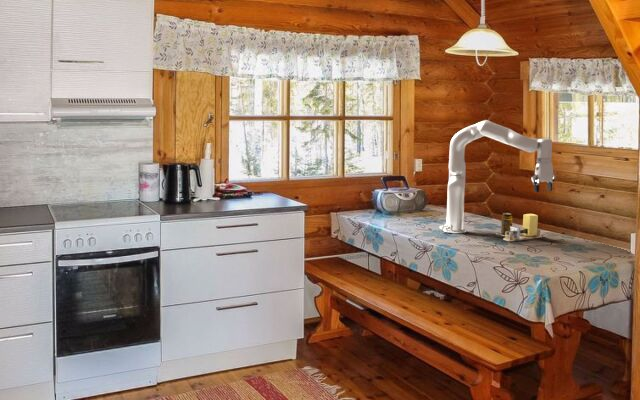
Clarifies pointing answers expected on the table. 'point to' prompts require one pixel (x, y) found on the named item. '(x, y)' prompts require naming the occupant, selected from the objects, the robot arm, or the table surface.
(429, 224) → the table surface
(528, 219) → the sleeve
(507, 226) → the condiment
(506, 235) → the cord rig
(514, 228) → the grey slab
